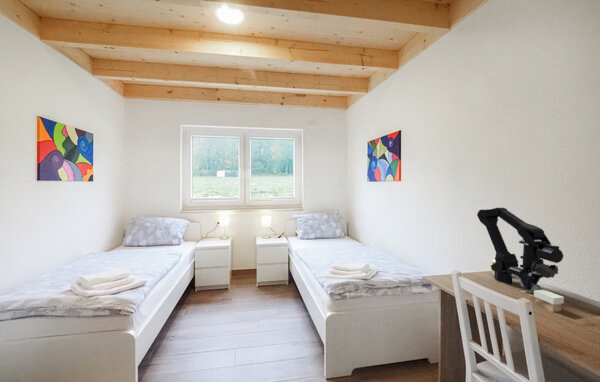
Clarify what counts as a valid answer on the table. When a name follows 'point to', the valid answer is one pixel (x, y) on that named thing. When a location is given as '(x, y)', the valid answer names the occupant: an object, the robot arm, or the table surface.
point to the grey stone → (531, 287)
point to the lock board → (546, 304)
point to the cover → (548, 296)
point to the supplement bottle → (492, 264)
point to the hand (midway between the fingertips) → (529, 289)
